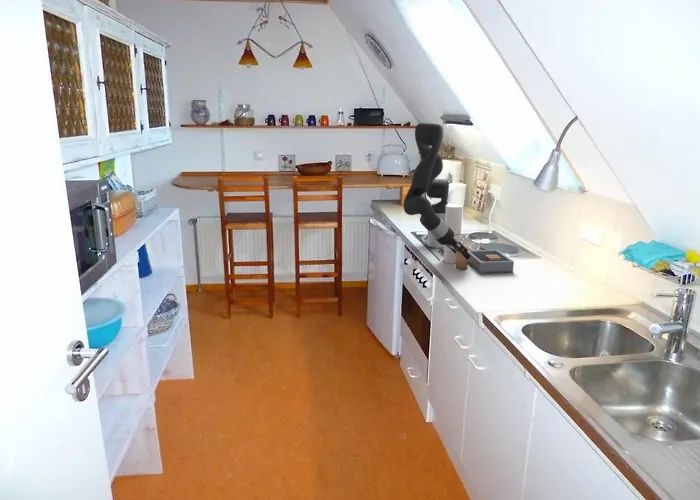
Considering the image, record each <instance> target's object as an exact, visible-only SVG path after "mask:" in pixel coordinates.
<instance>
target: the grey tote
mask: <svg viewBox="0 0 700 500" xmlns="http://www.w3.org/2000/svg"><path fill="white" fill-rule="evenodd" d="M468 253H469V254H470V255H471V257H470V258H469V259H468V265H469V266H470V267H471V268H473V269H474V270H475V271H476V272H477V273H478V274H479V275H493V274H494V275H495V274H513V273H514V266H515V265H514V264H515V263H514V260H512V259H511V258H510V257H508V256H507V255H506V254H504V253H503V252H501V251H500V250H498V249H487V250H486V249H485V250H468ZM485 255H498V256H499V257H501V261H492V262H485Z"/></svg>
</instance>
